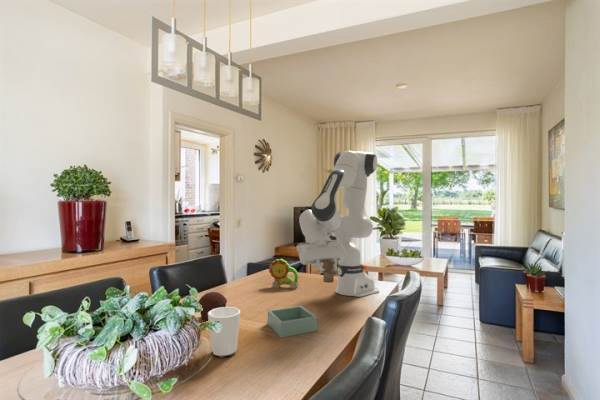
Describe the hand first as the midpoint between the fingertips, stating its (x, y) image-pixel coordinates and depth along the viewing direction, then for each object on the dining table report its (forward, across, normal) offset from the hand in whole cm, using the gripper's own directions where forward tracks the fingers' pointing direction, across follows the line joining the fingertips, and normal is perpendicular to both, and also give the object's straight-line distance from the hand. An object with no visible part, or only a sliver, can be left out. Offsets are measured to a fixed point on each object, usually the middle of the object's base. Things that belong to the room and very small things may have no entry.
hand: (329, 270), depth 129 cm
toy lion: (-23, +2, +51) cm, 56 cm away
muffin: (-1, -41, +30) cm, 51 cm away
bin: (+14, -16, +14) cm, 25 cm away
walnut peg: (+3, 0, +4) cm, 4 cm away
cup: (+21, -43, +7) cm, 49 cm away
